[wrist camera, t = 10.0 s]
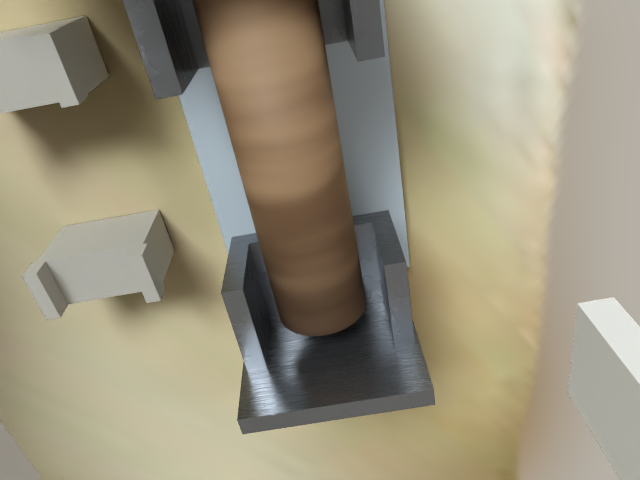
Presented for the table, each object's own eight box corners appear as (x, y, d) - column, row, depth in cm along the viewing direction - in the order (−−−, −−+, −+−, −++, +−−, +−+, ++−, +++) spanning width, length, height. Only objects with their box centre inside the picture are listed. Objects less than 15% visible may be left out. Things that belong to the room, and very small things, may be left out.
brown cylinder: (360, 273, 29) (372, 327, 25) (279, 287, 29) (278, 343, 25) (310, -32, 21) (316, -22, 17) (200, -10, 21) (181, 5, 17)
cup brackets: (256, 283, 35) (242, 434, 24) (150, -85, 24) (44, -93, 14) (391, 260, 34) (435, 404, 24) (345, -125, 23) (388, -163, 13)
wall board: (242, 285, 35) (241, 294, 34) (129, -81, 24) (123, -81, 23) (407, 258, 34) (410, 266, 33) (367, -130, 23) (370, -132, 23)
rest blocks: (79, 267, 33) (46, 319, 29) (-35, 39, 26) (-102, 62, 22) (178, 250, 33) (160, 300, 29) (91, 14, 26) (49, 33, 21)
